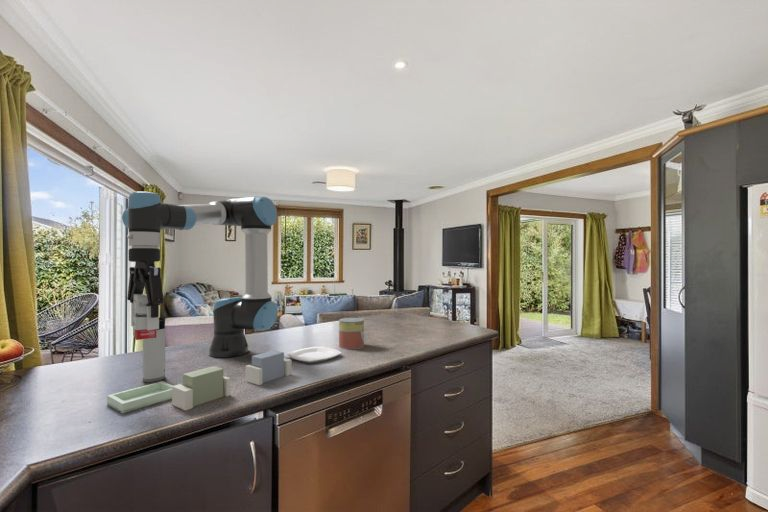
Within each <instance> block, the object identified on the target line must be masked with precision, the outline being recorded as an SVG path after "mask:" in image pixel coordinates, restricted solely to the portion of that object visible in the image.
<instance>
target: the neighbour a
mask: <svg viewBox="0 0 768 512" xmlns="http://www.w3.org/2000/svg"><path fill="white" fill-rule="evenodd" d="M223 376H224V368H221V367H220V366H215V365H214V366H213V365H212V366H209V367H204V368H201V369H196V370H192V371H190V372H185V373H183V374H182V385H183V386H186V387H188V388H191V389H193V407H197V406H199V405H202V404H205V403H208V402H211V401H214V400H217V399H221V398H223V397H224V395H223Z"/></svg>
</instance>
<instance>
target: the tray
mask: <svg viewBox="0 0 768 512" xmlns="http://www.w3.org/2000/svg"><path fill="white" fill-rule="evenodd" d="M172 386H174V385H172V384H170V383H169V382H166V381H163V380H160V381H156V382H152V383H150V384H146V385H142V386H138V387H134V388H131V389H127V390H123V391H119V392H115V393H112V394H111V393H110V394H109V395H108V394H107V406H109V407H111V408H113V409H114V410H116V411H117V412H119V413H121V414H125V413H128V412H132V411H135V410H139V409H142V408H145V407H149V406H151V405H155V404H158V403H162V402H165V401H168V400H172Z"/></svg>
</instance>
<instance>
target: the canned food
mask: <svg viewBox="0 0 768 512" xmlns="http://www.w3.org/2000/svg"><path fill="white" fill-rule="evenodd" d="M364 326H365V319H364V318H361V317H343V318H340V319H338V348H340V349H342V350H359V349H362V348H364V347H365V344H364V343H365V337H364V336H365V327H364Z"/></svg>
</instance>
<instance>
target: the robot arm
mask: <svg viewBox="0 0 768 512" xmlns="http://www.w3.org/2000/svg"><path fill="white" fill-rule="evenodd" d="M127 203H128V206H127V208H126V209H125V210H124V211H123V212H122V215H121V216H122V217H121V219H122V223H123V225H124V227H126V228H127V229H128V234H127V235H126V238H127V239H128V246H129V247H131V248H129V249H128V262H131V263H134V266H130V267H129V278H128V288H127V296H126V298H127V301H129V303H130V312H131V313H130V323H131V324H130V326H131V327H133V299H134V294H144V290H145V294H146V295H147V299H148V303H147V304H146V306H147V330H154V329H159V317H160V305H161V304H164V303H165V302H164V301H165V300H164V296H163V295H164V294H163V293H164V292H163V285H162V277H161V276H162V275H161V274H162V269H161V267H155V266H156V265H155V262H160V261H161V249H160V248H159V247H161V243H162V242H161V240H162V238H161V235H162V234H161V233H162V232H161V231H162V230H163V231H164V230H178V231H188V230H191V229H193V228H194V227H195V226H200V225H210V224H211V225H214V226H232V227H233V226H235V227H240V229H241V230H240V231H242V233H244V236H245V237H244V242H245V243H244V245H245V246H244V249H245V250H244V253H245V254H244V255H245V256H244V257H245V262H244V263H245V264H244V266H245V268H244V269H245V271H244V272H245V273H244V274H245V276H244V277H245V285H244V286H245V287H244V288H245V290H244V291H245V293H244V294H243V295H241V296H236V297H229V298H228V297H227V298H221V299H217V300H215V301H214V303H213V310H212V312H213V338H212V339H211V340H212V341H211V342H210V347H209V349H208V356H210V357H212V358H233V357H237V356H242V355H245V354H246V353H248V352H249V344H248V342H247V339H246V335H245V330H251V331H257V332H258V331H267V330H269V329H271V327H273V326H274V324H275V323H276V321H277V317H278V313H279V310H278V309H279V308H278V306H277V303H275V302H274V301H272V295H271V294H270V293H269V292H268V289H269V288H268V280H269V279H268V276H269V274H268V270H269V269H268V262H269V261H268V260H269V259H268V258H269V257H268V235H269V233H270V232H271V231H272V226H273V225H275V224H276V223H277V220H278V211H277V207H276V204H274V202H273V201H272V200H271V199H270V198H269V197H267V196H257V195H255V196H249V197H235V198H229V199H224V200H217V201H216V200H214V201H211V202H209V203H205V204H203V203H202V204H201V203H199V204H180V205H179V204H173V203H166V202H162V200H161V196H160V194H158V193H156V192H149V191H135V192H131V193H130V194H129V195H128V202H127Z"/></svg>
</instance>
